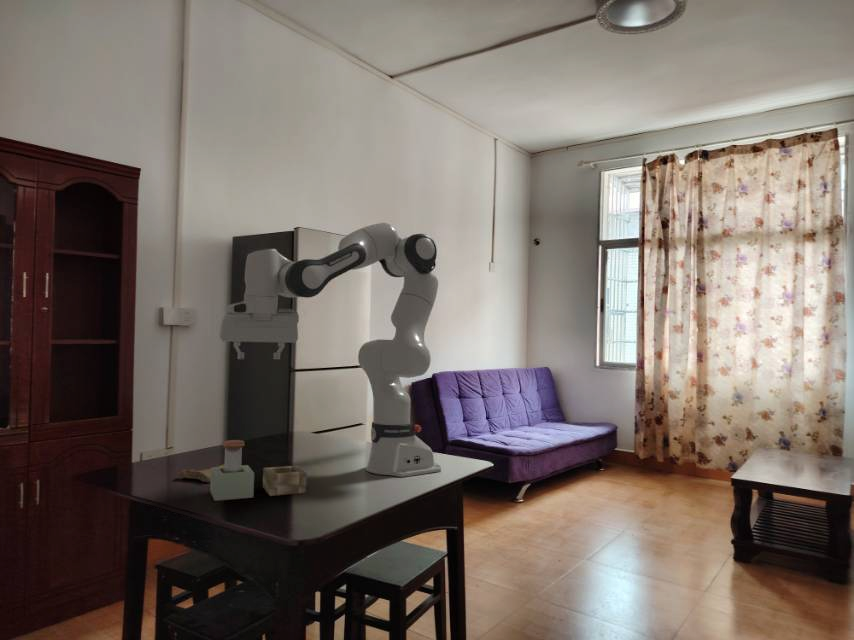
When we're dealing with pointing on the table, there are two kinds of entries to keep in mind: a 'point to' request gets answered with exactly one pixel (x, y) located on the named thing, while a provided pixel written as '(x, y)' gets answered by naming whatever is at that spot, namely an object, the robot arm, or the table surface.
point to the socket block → (232, 483)
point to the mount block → (284, 480)
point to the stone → (197, 474)
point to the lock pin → (233, 455)
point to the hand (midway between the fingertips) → (259, 359)
